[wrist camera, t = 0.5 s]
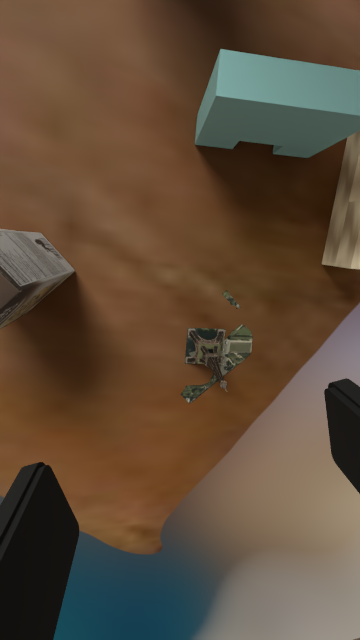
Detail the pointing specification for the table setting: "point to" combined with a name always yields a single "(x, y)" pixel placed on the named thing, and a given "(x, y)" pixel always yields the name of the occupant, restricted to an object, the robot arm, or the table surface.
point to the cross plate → (278, 104)
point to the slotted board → (346, 212)
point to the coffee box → (27, 272)
